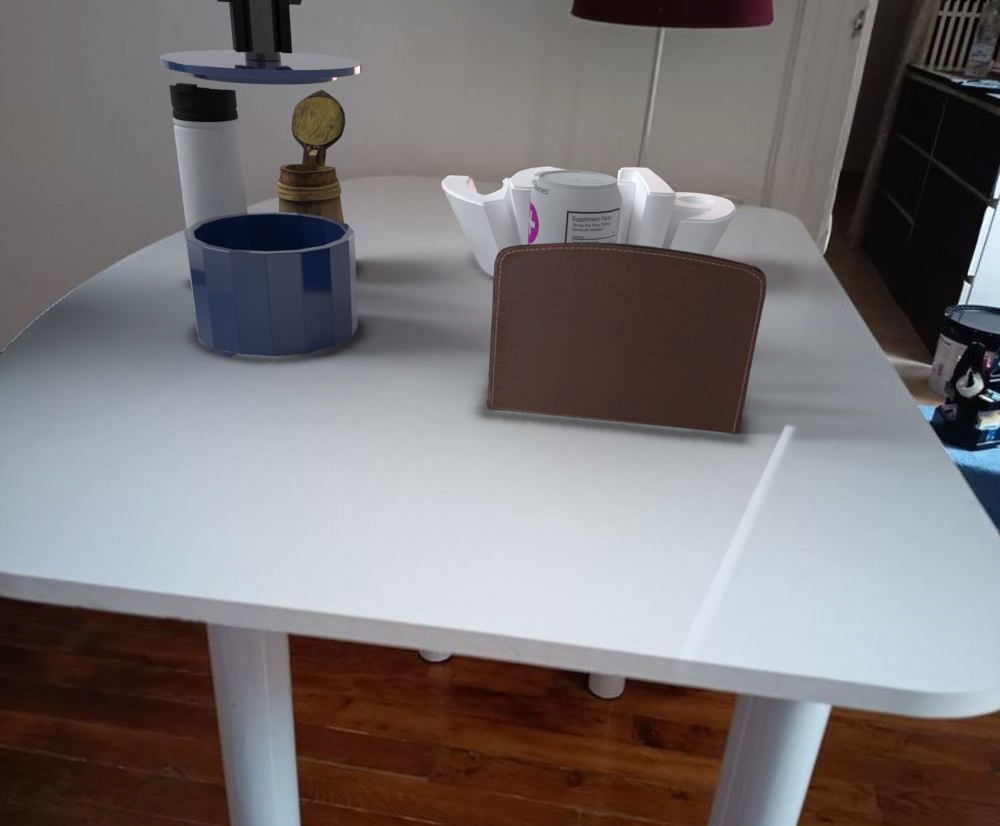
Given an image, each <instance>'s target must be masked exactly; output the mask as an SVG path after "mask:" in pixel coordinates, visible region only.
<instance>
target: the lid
mask: <svg viewBox="0 0 1000 826" xmlns="http://www.w3.org/2000/svg"><path fill="white" fill-rule="evenodd" d="M242 2H243V14H244V27H245V39H246V51H247V52H236V51H235V50H234V49H210V50H205V49H204V50H183V51H175V52H167V53H164V54H161V55H160V56H159V63H160V66H161V67H162V68H164V69H166V70H169V71H175V72H180V73H186V74H187V76H190V77H192V78H195V79H200V80H206V81H212V82H219V83H220V82H221V83H231V84H247V85H272V86H273V85H274V86H275V85H277V86H278V85H279V86H281V85H282V86H283V85H285V86H286V85H292V86H293V85H294V86H295V85H314V84H316V85H317V84H325V83H331V82H335V81H337V80H339V78H343V77H351V76H355V75H360V74H361V73H362V72H363V63H362V62H361V61H360V60H358V59H353V58H350V57H349V58H348V57H343V56H338V55H329V54H321V53H320V54H319V53H308V52H296V51H295V52H294V51H292V53H281V50H280V35H279V20H278V5H277V0H242Z"/></svg>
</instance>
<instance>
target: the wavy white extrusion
mask: <svg viewBox="0 0 1000 826" xmlns="http://www.w3.org/2000/svg"><path fill="white" fill-rule="evenodd" d="M556 170H565V169H564V168H560V167H555V166H539V167H538V166H537V167H531V168H526V169H523V170H520V171H517V172H516V173H515V174H514V175H512V177H505V178H504V179H502V184H503V185H502V187H501V188H500V189H498V190H496V191H494V192H490V193H487V194H481V193H479V192H478V191H477V188H476V186H475V183H474V181H473V178H470V176H469V175H450V174H449V175H447V176H445V178H444V179H442V181H441V188H442V190H443V192H444V194H445V196H446V198H447V200H448V202H449V205H450V207H451V209H452V211H453V213H454V215H455V217H456V220H457V222H458V223H459V225H460V228H461V230H462V232H463V234H464V236H465V238H466V240H467V243H468V245H469V247H470V249H471V251H472V254H473V255H474V258H475V259H476V262H477V264H478V265H479V267H480V268H481V270H482V271H484V273H486V274H488V275H489V276H490V277H493V276H494V262H495V259H496V256H497V254H498V253H499V252H500V251H501V250H502V249H504V248H506V247H510V246H516V245H526V244H528V228H529V212H530V195H531V191H532V189H533V187H534V186H535V184H536V182H537V180H538V178H539V174H541V173H543V172H548V171H556ZM616 179H617V185H618V188H619V191H620V193H621V196H622V199H623V200H622V209H621V218H620V227H619V237H618V243H620V244H632V245H642V246H651V247H659V248H666V249H673V250H680V251H687V252H693V253H699V254H705V255H710V256H712V254H713V252H714V250H715V249H716V247H717V245H719V242H720V240H721V239H722V237H723V235H724V234H725V232H726V230H727V228H728V227H729V226H730V223H731V222H732V219H733V218H734V216H735V215H736V213H737V207H736V205H735V204H734V203H733V201H731V200H730V199H727V198H726V197H721V196H718V195H714V194H708V193H701V192H700V193H699V192H685V191H684V192H683V191H681V192H680V191H679V192H678V191H674V190H673V189H672V188H671V186H670V185H669V184H668V183H667V182H665V180H663V178H661V177H660V176H659V175H658V174H656V173H655V172H654V171H653V170H652V169H650V168H648V167H637V166H636V167H631V166H629V167H621V168H620V169H618V171H617V178H616Z"/></svg>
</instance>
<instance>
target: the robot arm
mask: <svg viewBox="0 0 1000 826" xmlns="http://www.w3.org/2000/svg"><path fill="white" fill-rule="evenodd" d="M302 1H303V0H277V5H278V20H279V35H280V50H281V53H292V52H293V44H292V43H293V42H292V26H291V9H290V6H291V5H292V6H301V5H302ZM216 2H218V3H228V5H229V18H230V28H231V29H230V30H231V39H232V50H235V51H236V52H247V51H246V39H245V27H244V14H243V2H242V0H216Z"/></svg>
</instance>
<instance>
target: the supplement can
mask: <svg viewBox="0 0 1000 826" xmlns="http://www.w3.org/2000/svg"><path fill="white" fill-rule="evenodd" d="M617 179H618V178H616V177H614V176H612V175H610V174H606V173H603V172H602V173H601V172H595V171H587V170H575V169H564V170H556V171H548V172H543V173H541V174H539V178H538V180H537V182H536V184H535V186H534V187H533V189H532V191H531V195H530V212H529V228H528V244H546V243H575V242H577V243H585V242H595V243H618V237H619V227H620V218H621V209H622V200H623V199H622V196H621V193H620V191H619V188H618V185H617Z"/></svg>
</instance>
